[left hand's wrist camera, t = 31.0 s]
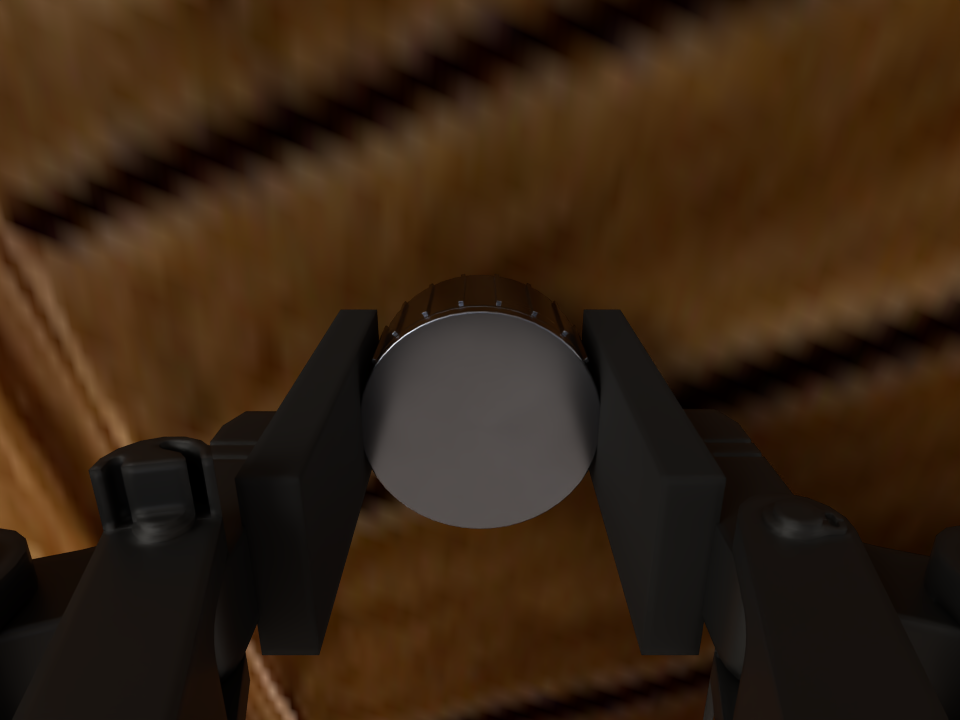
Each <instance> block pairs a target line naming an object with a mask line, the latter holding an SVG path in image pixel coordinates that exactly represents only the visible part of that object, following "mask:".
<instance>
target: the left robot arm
mask: <svg viewBox="0 0 960 720" xmlns="http://www.w3.org/2000/svg"><path fill="white" fill-rule="evenodd" d="M378 343H379V334H378V317H377V310H340V312H339V313H338V315H337V316H336V318H335V320H334V321H333V323H332V324H331V326H330V328H329V329H328V331H327V332H326V334H325V335H324V337H323V339H322V340H321V342H320V343H319V345H318V347H317V348H316V350H315V351H314V353H313V354H312V356H311V358H310V359H309V361H308V362H307V364H306V366H305V367H304V369H303V370H302V372H301V374H300V375H299V377H298V378H297V380H296V381H295V383H294V385H293V386H292V388H291V389H290V391H289V393H288V394H287V396H286V397H285V399H284V400H283V402H282V404H281V405H280V407H279V408H278V410H277V411H246V412H244V413H243V414H241V415H239V416H238V417H236V418H234V419H233V420H231V421H230V422H228V423H226V424H225V425H223V426H222V427H221V429H220V430H219V431H218V433H217V434H216V435H215V437H214V438H213V439H212V441H211V442H210V445H207V444H205V443H204V442H203V441H201V440H197V439H193V438H188V437H160V438H155V439H149V440H143V441H139V442H136V443H133V444H130V445H127V446H124V447H121V448H118V449H117V450H115V451H113V452H111V453H109V454H108V455H106V456H104V457H102V458H100V459H99V460H98V461H97V462H96V463H95V464H94V465H93V466H92V467H91V468H90V469H89V473H90V477H91V481H92V486H93V490H94V494H95V498H96V502H97V506H98V510H99V514H100V518H101V522H102V526H103V530H104V532H103V534H102V536H101V538H100V540H99V542H98V544H97V546H95V547H91V548H87V549H83V550H78V551H73V552H68V553H62V554H57V555H52V556H47V557H42V558H36V559H32V558H31V554H30V551H29V548H28V545H27V541H26V538H24V537H23V536H22V535H20V534H19V533H18V532H16V531H13V530H7V529H1V528H0V720H245V719H246V710H247V702H248V693H249V685H250V677H249V671H248V664H247V658H246V649H247V647H248V644H249V642H250V640H251V637H252V635H253V632H254V630H255V627H256V625H258V631H259V638H260V644H261V650H262V655H319V654H320V650H321V647H322V643H323V640H324V636H325V633H326V629H327V625H328V622H329V618H330V615H331V611H332V608H333V604H334V601H335V597H336V594H337V590H338V587H339V583H340V580H341V576H342V573H343V569H344V566H345V562H346V559H347V555H348V551H349V548H350V544H351V541H352V537H353V534H354V530H355V527H356V523H357V520H358V516H359V513H360V509H361V506H362V502H363V499H364V495H365V492H366V488H367V484H368V481H369V477H370V474H371V470H372V468H371V466H370V465H369V463H368V460H367V458H366V455H365V453H364V448H363V436H362V422H361V408H360V400H361V395H362V392H363V389H364V386H365V383H366V380H367V378H368V375H369V373H370V370H371V367H372V365H373V363H372V362H371V360H372V358H373V355H374V353H375V350H376V348H377V345H378ZM582 344H583V346H584V348H585V351H586V353H587V356H588V358H589V362H587V363H588V366H589V368H590V371H591V373H592V376H593V378H594V381H595V384H596V386H597V389H598V393H599V397H600V401H601V404H600V419H599V433H598V446H597V452H596V455H595V458H594V460H593V462H592V464H591V466H590V468H589V471H590V475H591V478H592V482H593V485H594V489H595V492H596V496H597V499H598V503H599V506H600V510H601V513H602V517H603V521H604V524H605V528H606V531H607V535H608V538H609V542H610V545H611V549H612V552H613V556H614V559H615V563H616V566H617V570H618V573H619V577H620V580H621V584H622V587H623V591H624V594H625V598H626V602H627V605H628V609H629V612H630V616H631V619H632V623H633V626H634V630H635V633H636V637H637V640H638V644H639V647H640V651H641V654H642V655H699V649H700V643H701V637H702V630H703V624H704V622H705V624H706V627H707V629H708V632H709V634H710V636H711V639H712V641H713V644H714V646H715V652H714V658H713V664H712V670H711V676H710V682H709V688H708V694H707V700H706V706H705V712H704V718H703V720H713V716H714V717H715V720H960V526H955V527H949V528H945V529H944V530H943V531H942V532H940V533H939V534H938V535H936V538H935V541H934V545H933V548H932V551H931V555H930V556H924V555H919V554H914V553H909V552H904V551H898V550H893V549H888V548H883V547H878V546H874V545H870V544H866V543H862V541H861V539H860V537H859V535H858V533H857V531H856V529H855V528H854V527H853V526H852V525H851V523H850V522H849V521H848V520H847V518H846V517H844V516H843V515H841V514H840V513H838V512H837V511H835V510H834V509H832V508H831V507H829V506H827V505H824V504H822V503H819V502H817V501H814V500H812V499H809V498H806V497H801V496H797V495H793V494H792V492H791V491H790V490H789V488H788V487H787V486H786V485H785V483H784V482H783V481H782V479H781V478H780V477H779V475H778V474H777V473H776V472H775V470H774V469H773V468H772V466H771V465H770V464H769V463H768V461H767V460H766V459H765V457H762V456H761V452H760V451H759V450H758V448H757V447H756V446H755V444H754V443H751V439H750V438H749V437H748V435H747V434H746V433H745V431H744V430H743V429H742V427H741V426H740V425H739V424H738V423H737V422H735V421H734V420H732V419H730V418H729V417H727V416H726V415H724V414H722V413H721V412H719V411H717V410H716V409H682V407H681V405H680V404H679V402H678V401H677V399H676V398H675V396H674V394H673V393H672V391H671V390H670V388H669V386H668V385H667V383H666V382H665V380H664V379H663V377H662V375H661V374H660V372H659V371H658V369H657V367H656V366H655V364H654V363H653V361H652V359H651V358H650V356H649V355H648V353H647V352H646V350H645V348H644V347H643V345H642V344H641V342H640V340H639V339H638V337H637V336H636V334H635V333H634V331H633V329H632V328H631V326H630V325H629V323H628V321H627V320H626V318H625V317H624V315H623V314H622V312H621V310H584V314H583V331H582Z"/></svg>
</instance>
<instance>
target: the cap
mask: <svg viewBox="0 0 960 720" xmlns="http://www.w3.org/2000/svg"><path fill="white" fill-rule="evenodd" d="M371 362H372V363H373V365H372V367H371V370H370V373H369V375H368V378H367V380H366V383H365V386H364V389H363V392H362V395H361V400H360V408H361V422H362V436H363V448H364V453H365V455H366V458H367V460H368V463H369V465H370V466H371V468H372V470H373V472H374V473H375V475H376V477H377V478H378V479H379V480H380V482H381V483H382V484H383V486H384V487H385V488H386V489H387V490H388V491H389V492H390V493H391V494H392V495H393V496H394V497H395V498H396V499H398V500H399V501H400V502H401V503H403V504H404V505H405V506H407V507H408V508H410V509H412V510H413V511H415V512H417V513H418V514H420V515H423V516H425V517H427V518H429V519H432V520H434V521H437V522H440V523H444V524H447V525H452V526H457V527H463V528H475V529H483V528H497V527H504V526H509V525H513V524H517V523H521V522H524V521H526V520H529V519H532V518H534V517H536V516H538V515H540V514H542V513H544V512H546V511H548V510H549V509H551V508H552V507H554V506H555V505H557V504H558V503H560V502H561V501H562V500H563V499H564V498H565V497H567V496H568V495H569V494H570V493H571V492H572V491H573V490H574V489H575V487H576V486H577V485H578V484H579V483H580V482H581V480H582V479H583V477H584V476H585V474H586V473H587V472H588V470H589V468H590V466H591V464H592V462H593V460H594V458H595V455H596V452H597V446H598V433H599V419H600V404H601V401H600V397H599V393H598V389H597V386H596V384H595V381H594V378H593V376H592V373H591V371H590V368H589V366H588V363H587V362H589V358H588V356H587V353H586V351H585V348H584V346H583V344H582V341H581V339H580V336H579V334H578V331H577V329H576V327H575V325H573V326H571V324H570V322H569V321H568V319H567V318H566V316H565V315H564V314H563V313H562V311H561V310H560V309H559V307H558V304H557V302H555V301H554V302H552V301H551V300H550V299H548V298H547V297H546V296H544V295H543V294H541V293H540V292H539V291H537V290H535V289H533V288H531V285H530V284H528V283H527V284H523V283H520V282H517V281H515V280H512V279H507V278H503V277H499V275H498V274H495V276H489V275H469V276H465V274H463V275H461V277H457V278H453V279H450V280H446V281H443V282H440V283H438V284H436V285H434V284H431V285H429V288H427V289H426V290H424V291H422V292H421V293H419V294H418V295H416V296H415V297H414V298H413V299H411V300H410V301H409V302H408V303H407V302H406V301H405V302H404V303H403V305H402V308H401V310H400V311H399V312H398V313H397V315H396V316H395V317H394V319H393V320H392V322H391V323H390V325H389V327H388V326H385V328H384V330H383V333H382V335H381V338H380V340H379V343H378V345H377V348H376V350H375V353H374V355H373V358H372V360H371Z"/></svg>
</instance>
